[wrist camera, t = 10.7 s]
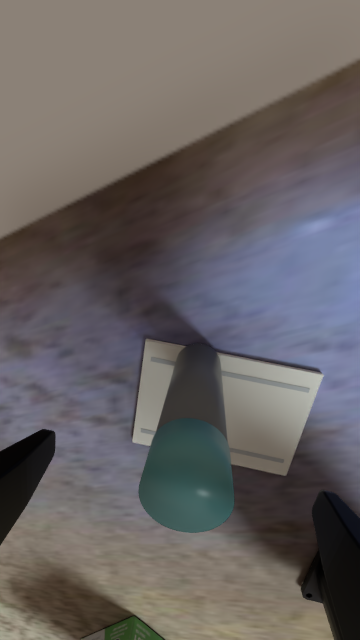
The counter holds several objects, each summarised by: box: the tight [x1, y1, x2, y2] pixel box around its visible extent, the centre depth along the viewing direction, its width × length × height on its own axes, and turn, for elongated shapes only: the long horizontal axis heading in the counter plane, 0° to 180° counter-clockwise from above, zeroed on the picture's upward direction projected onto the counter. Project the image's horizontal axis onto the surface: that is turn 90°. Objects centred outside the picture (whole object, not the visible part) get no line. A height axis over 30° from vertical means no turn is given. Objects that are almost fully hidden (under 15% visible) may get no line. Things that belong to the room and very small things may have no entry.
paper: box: [132, 339, 323, 476], centre depth 17 cm, size 8×11×1 cm
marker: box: [139, 343, 234, 533], centre depth 12 cm, size 3×3×9 cm
